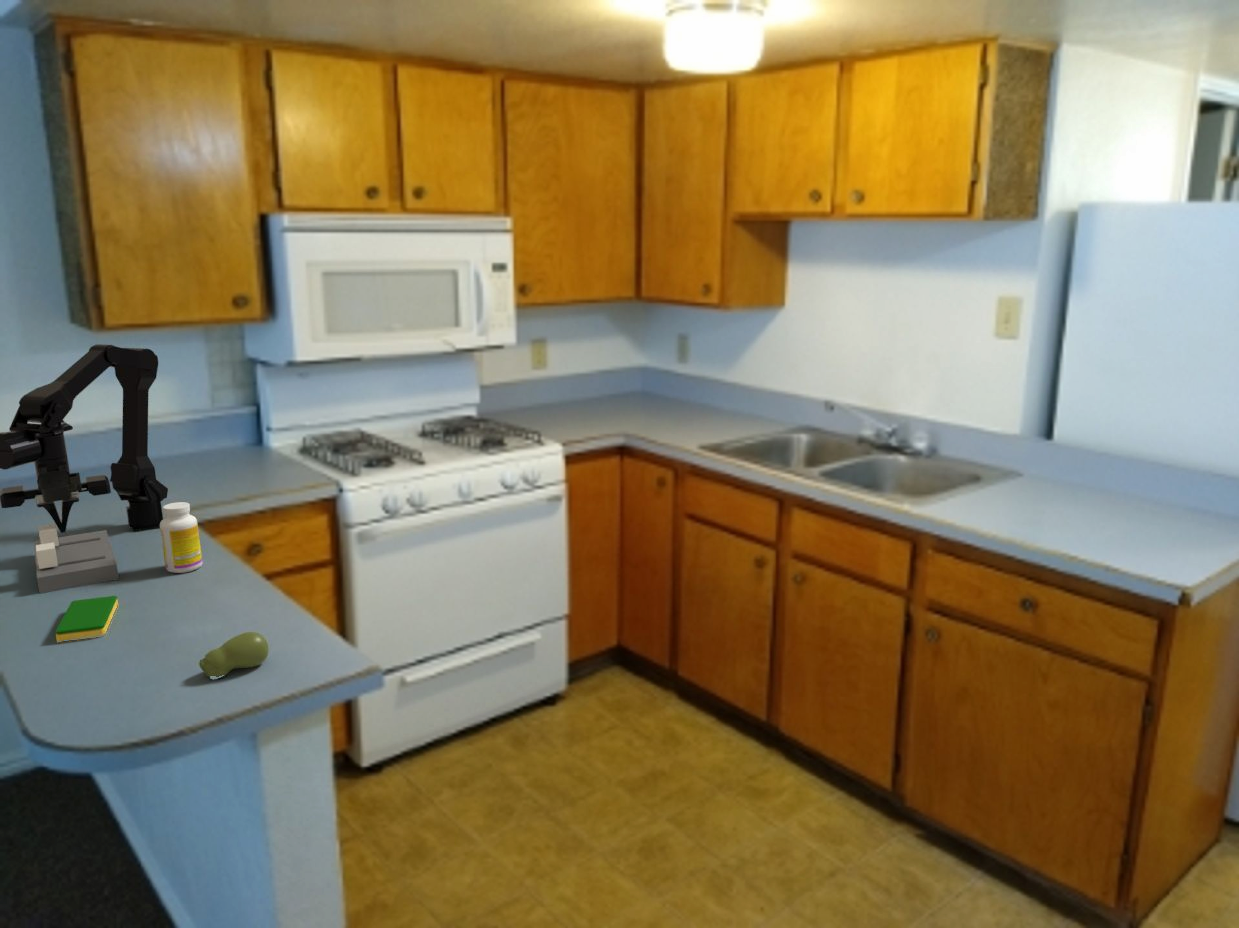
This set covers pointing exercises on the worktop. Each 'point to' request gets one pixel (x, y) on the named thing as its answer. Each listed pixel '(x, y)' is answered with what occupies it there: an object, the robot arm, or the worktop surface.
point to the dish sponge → (86, 618)
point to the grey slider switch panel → (79, 562)
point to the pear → (236, 654)
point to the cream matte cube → (48, 534)
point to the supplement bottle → (180, 539)
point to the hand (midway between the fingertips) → (63, 532)
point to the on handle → (46, 555)
